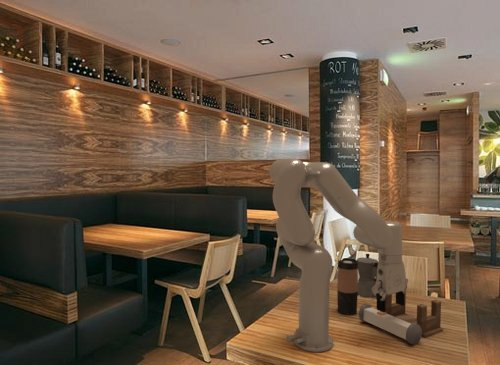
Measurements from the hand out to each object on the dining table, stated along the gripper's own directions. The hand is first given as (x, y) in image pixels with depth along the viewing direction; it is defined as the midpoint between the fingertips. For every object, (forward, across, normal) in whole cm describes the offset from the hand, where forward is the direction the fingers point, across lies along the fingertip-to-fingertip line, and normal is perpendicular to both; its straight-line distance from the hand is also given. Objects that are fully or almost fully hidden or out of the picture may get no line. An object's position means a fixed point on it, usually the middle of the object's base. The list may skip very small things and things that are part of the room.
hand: (390, 307), depth 128 cm
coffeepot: (+9, +22, +29) cm, 38 cm away
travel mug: (+8, 0, +20) cm, 22 cm away
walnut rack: (+9, +11, 0) cm, 14 cm away
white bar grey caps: (+8, -1, 0) cm, 8 cm away
